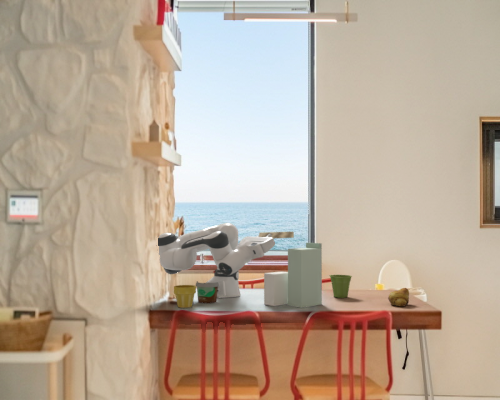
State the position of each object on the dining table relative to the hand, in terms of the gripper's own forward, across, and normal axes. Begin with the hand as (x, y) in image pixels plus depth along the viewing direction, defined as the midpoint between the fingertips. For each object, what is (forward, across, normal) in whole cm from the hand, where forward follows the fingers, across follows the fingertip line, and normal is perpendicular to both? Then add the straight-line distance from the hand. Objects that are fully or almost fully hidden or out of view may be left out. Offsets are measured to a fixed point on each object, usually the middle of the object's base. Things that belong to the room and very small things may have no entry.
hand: (267, 234), depth 246 cm
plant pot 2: (+24, +5, -53) cm, 58 cm away
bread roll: (+26, +39, -55) cm, 72 cm away
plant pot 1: (-45, -23, -13) cm, 52 cm away
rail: (+4, 0, -5) cm, 7 cm away
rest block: (-10, -1, -33) cm, 35 cm away
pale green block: (-4, +10, -37) cm, 39 cm away
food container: (-32, -26, -20) cm, 47 cm away
